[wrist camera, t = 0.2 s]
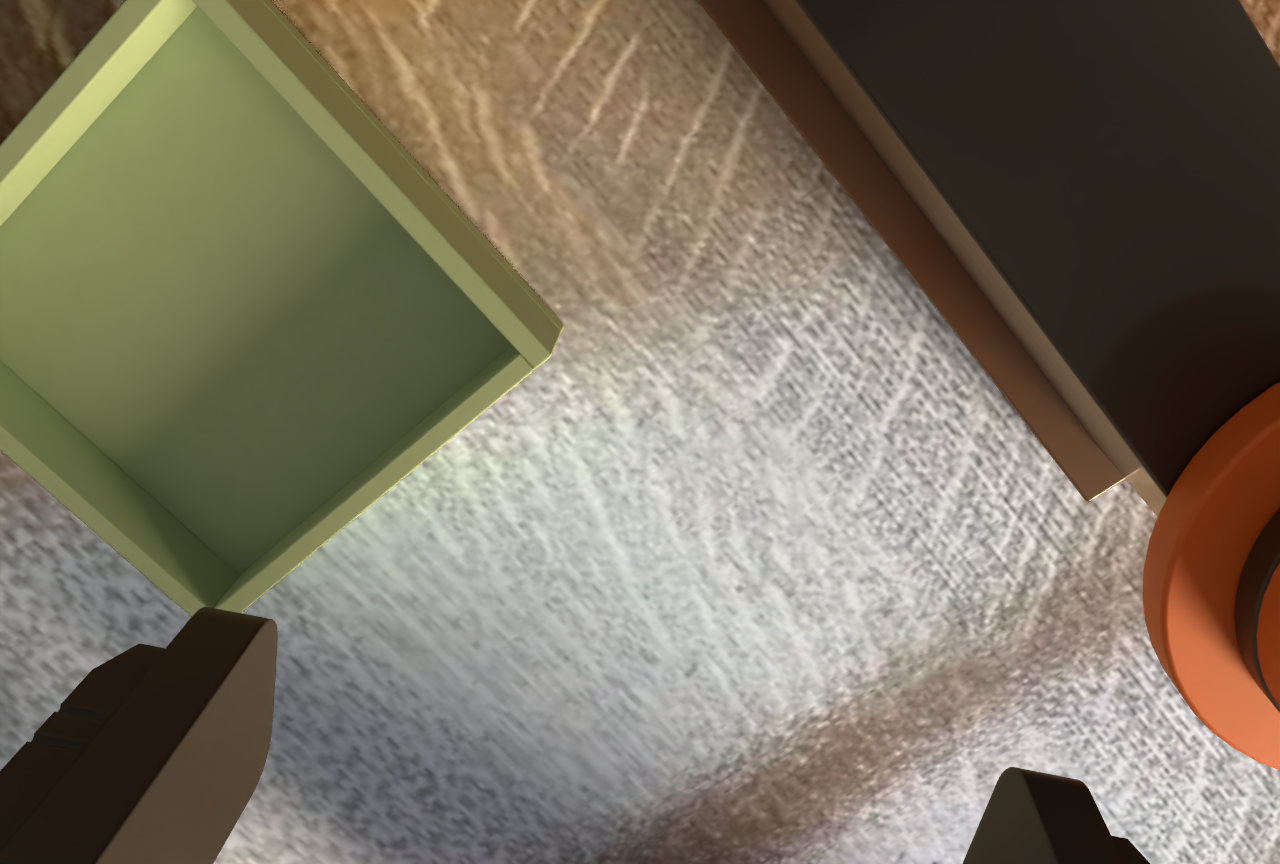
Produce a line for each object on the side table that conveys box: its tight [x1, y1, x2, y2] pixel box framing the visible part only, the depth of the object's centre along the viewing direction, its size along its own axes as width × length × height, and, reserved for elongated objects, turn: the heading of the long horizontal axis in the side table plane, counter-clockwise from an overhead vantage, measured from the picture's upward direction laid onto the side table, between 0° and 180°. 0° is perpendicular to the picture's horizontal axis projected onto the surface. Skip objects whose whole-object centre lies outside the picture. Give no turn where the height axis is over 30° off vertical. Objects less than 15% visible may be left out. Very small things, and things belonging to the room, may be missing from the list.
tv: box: [698, 0, 1280, 516], centre depth 19 cm, size 6×18×13 cm, turn 41°
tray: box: [0, 0, 564, 617], centre depth 27 cm, size 13×12×3 cm
